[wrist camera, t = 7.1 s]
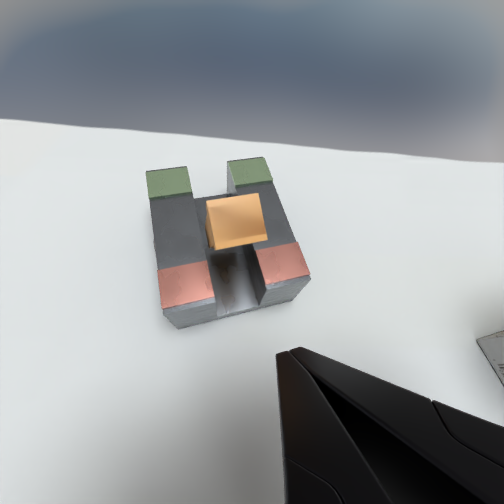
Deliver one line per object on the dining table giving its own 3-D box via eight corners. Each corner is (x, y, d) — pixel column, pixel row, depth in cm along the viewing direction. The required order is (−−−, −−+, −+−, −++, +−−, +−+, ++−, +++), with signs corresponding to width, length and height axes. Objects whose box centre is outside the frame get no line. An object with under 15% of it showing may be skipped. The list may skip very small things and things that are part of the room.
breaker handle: (240, 246, 19) (267, 239, 11) (209, 252, 19) (216, 249, 11) (234, 218, 19) (258, 192, 11) (204, 224, 19) (206, 200, 11)
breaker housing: (295, 299, 20) (316, 277, 16) (174, 330, 18) (157, 315, 14) (258, 195, 25) (266, 154, 20) (158, 211, 23) (141, 169, 18)
